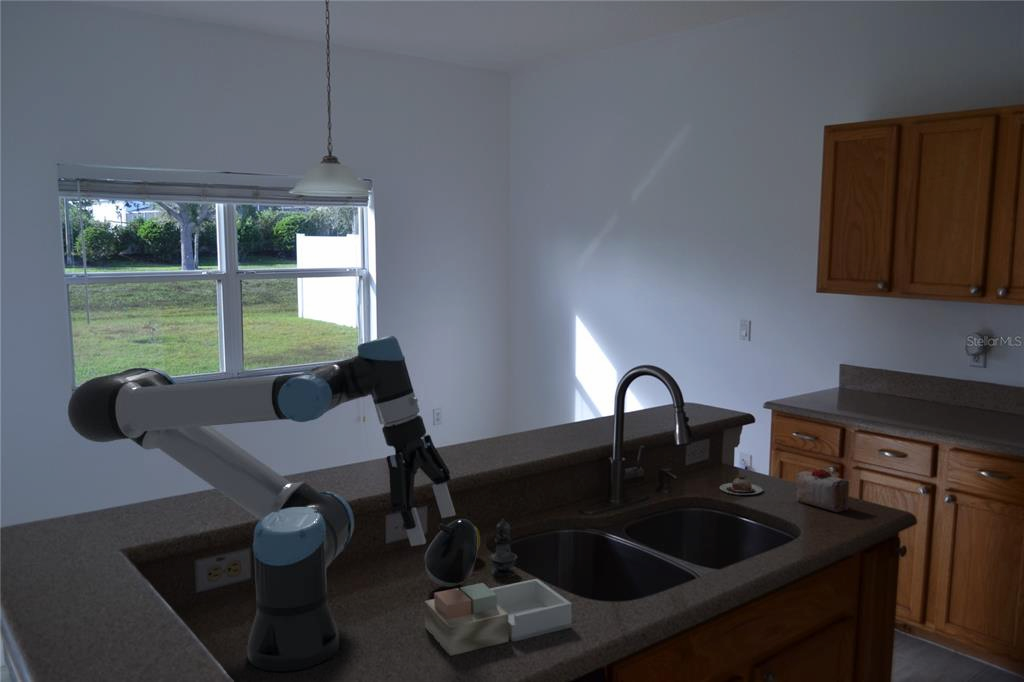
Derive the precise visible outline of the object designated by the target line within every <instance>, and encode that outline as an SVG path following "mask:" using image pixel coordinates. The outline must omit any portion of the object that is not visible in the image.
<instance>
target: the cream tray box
mask: <svg viewBox="0 0 1024 682" xmlns="http://www.w3.org/2000/svg"><path fill="white" fill-rule="evenodd" d="M424 625H425V626H424V627H425V629H426V630H427V631H428V632H429V633H430V635H431V634H432V635H433V636H434V637H433V636H432V635H431V636H432V637H433V638H434V639H435V640H436V642H439V643H440V644H439V643H438V644H439V645H440V646H441V647H442V649H444V651H445V652H447V654H448V655H449V656H456V655H460V654H464V653H467V652H473V651H476V650H479V649H483V648H488V647H491V646H496V645H500V644H503V643H508V642H510V641H509V640H510V639H509V627H508V613H507V612H506V611H504V610H503V609H502V608H501V607H500V606H499V605H497V608H496V609H492V610H487V611H483V612H478V613H473V612H472V611H471V614H469V615H465V616H460V617H456V618H452V619H446V618H445V617H444V616H443V615H442V614H441V613H440V612H439V611H438V609H437V608H436V607H435V606H434V598H433V599H428V600H424Z"/></svg>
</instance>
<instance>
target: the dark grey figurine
mask: <svg viewBox="0 0 1024 682" xmlns="http://www.w3.org/2000/svg"><path fill="white" fill-rule="evenodd" d="M510 527H511V526H510V524H509V523H508V522H506V521H505V518H501V521H500V522H499V523H497V525H496V537H495V539H494V540H495V542H496V547H495V548H496V549H495V552H494V553H491V554H490V556H489V559H490V561H491V565H492V566H493V567H494V569H493V570H491V575H492V576H493V577H496V578H500V579H501V578H502V579H505V578H511V577H513V576H515V575H516V574H517V571H516V570H515V569H513V567H514V566H515V565H516V562H517V559H518V556H517V554H515V553H514V552H512V550H511V542H512V538H511V536H510V535H511V533H510V531H511V529H510Z"/></svg>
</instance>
